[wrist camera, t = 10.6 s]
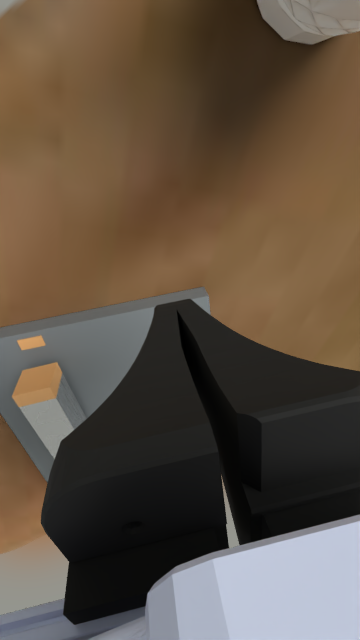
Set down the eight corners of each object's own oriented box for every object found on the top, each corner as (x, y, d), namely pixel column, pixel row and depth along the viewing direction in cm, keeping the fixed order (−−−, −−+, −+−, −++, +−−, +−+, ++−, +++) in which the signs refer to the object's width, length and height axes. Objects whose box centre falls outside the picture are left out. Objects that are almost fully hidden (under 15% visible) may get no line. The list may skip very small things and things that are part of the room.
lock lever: (116, 459, 28) (115, 494, 25) (77, 469, 28) (72, 505, 25) (65, 358, 21) (57, 390, 19) (14, 370, 21) (-1, 404, 19)
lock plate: (51, 470, 30) (37, 539, 25) (-35, 334, 21) (-85, 398, 16) (219, 431, 31) (238, 489, 26) (203, 286, 22) (228, 332, 17)
